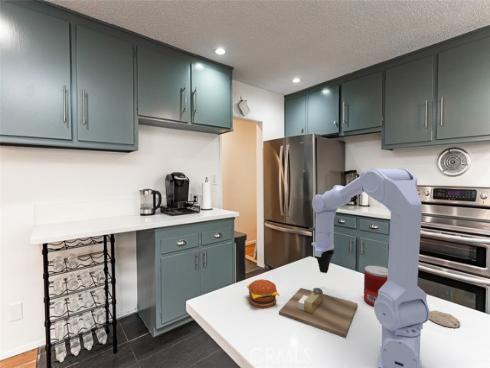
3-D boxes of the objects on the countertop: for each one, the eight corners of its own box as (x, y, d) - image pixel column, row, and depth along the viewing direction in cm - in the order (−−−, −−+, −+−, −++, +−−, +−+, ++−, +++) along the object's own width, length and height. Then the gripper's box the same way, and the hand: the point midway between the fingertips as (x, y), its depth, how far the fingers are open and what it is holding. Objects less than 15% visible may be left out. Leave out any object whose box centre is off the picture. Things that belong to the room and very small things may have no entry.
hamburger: (281, 306, 79) (281, 286, 79) (253, 311, 77) (252, 290, 76) (270, 292, 88) (270, 274, 88) (244, 296, 86) (244, 277, 85)
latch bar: (315, 297, 82) (315, 287, 82) (323, 300, 81) (323, 289, 80) (303, 310, 75) (303, 298, 74) (312, 313, 73) (312, 301, 73)
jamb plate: (345, 337, 64) (345, 333, 64) (278, 314, 75) (278, 311, 75) (357, 306, 79) (357, 303, 79) (300, 290, 90) (300, 287, 90)
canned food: (395, 310, 77) (396, 275, 76) (367, 307, 78) (368, 273, 78) (386, 298, 84) (387, 266, 84) (361, 295, 86) (361, 264, 85)
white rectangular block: (304, 310, 75) (304, 303, 75) (298, 308, 76) (298, 301, 76) (309, 303, 79) (309, 296, 79) (303, 301, 80) (303, 295, 80)
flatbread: (455, 332, 66) (455, 328, 66) (422, 319, 73) (422, 315, 73) (464, 321, 71) (464, 318, 71) (432, 309, 77) (432, 306, 77)
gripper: (318, 225, 89) (318, 262, 90) (304, 234, 77) (304, 277, 78) (339, 228, 85) (338, 266, 86) (327, 237, 73) (327, 282, 74)
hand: (323, 272), depth 82 cm, fingers closed
